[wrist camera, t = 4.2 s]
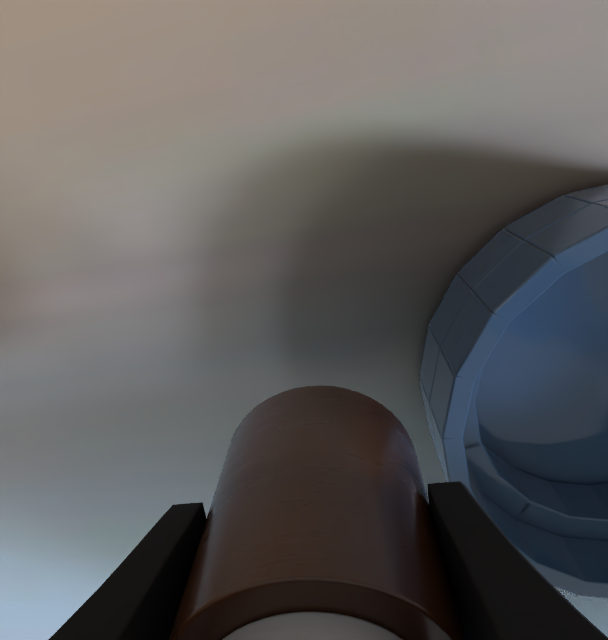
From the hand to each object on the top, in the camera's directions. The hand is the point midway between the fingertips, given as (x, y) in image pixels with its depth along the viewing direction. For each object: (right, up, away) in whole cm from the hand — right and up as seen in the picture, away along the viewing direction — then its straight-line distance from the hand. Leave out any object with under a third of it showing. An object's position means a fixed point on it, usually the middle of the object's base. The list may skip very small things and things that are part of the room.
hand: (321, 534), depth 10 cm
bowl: (+10, +3, +8) cm, 13 cm away
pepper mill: (0, +1, +2) cm, 2 cm away
